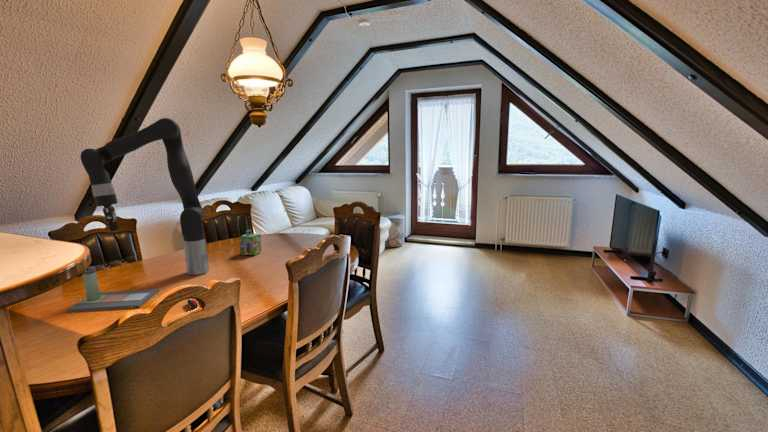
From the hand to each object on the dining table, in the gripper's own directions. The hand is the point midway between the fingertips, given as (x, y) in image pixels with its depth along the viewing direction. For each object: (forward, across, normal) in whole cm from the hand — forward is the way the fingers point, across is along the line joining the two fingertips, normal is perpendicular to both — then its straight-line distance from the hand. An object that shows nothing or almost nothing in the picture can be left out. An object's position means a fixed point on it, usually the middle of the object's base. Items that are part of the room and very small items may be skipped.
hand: (114, 230), depth 151 cm
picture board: (+27, -22, +4) cm, 35 cm away
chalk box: (+31, +18, -58) cm, 68 cm away
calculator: (+34, -44, -27) cm, 62 cm away
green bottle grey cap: (+24, -18, +11) cm, 32 cm away
